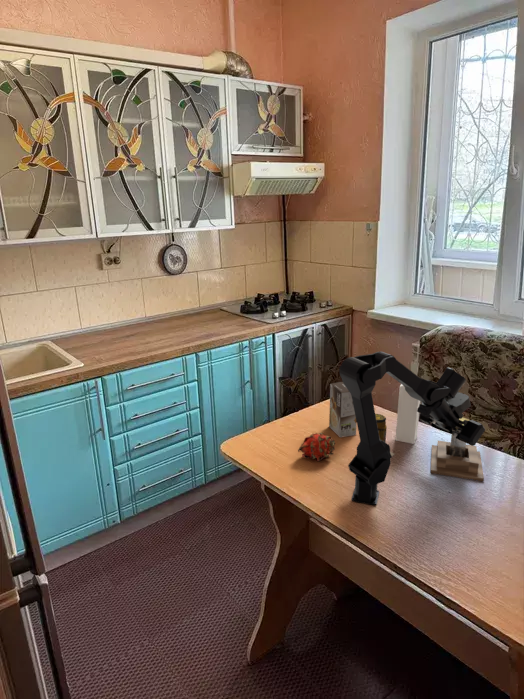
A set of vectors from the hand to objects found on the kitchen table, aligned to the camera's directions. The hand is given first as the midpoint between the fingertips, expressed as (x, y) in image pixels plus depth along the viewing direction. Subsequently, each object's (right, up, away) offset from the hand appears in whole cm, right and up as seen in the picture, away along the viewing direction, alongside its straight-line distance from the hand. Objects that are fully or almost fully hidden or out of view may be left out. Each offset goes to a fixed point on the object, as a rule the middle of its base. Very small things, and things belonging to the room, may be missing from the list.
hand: (462, 436), depth 144 cm
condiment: (-23, -7, +8) cm, 26 cm away
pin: (-1, -7, +1) cm, 7 cm away
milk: (-11, -4, +18) cm, 21 cm away
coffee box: (-31, -2, +23) cm, 39 cm away
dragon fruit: (-42, -8, +6) cm, 43 cm away
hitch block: (-1, -8, +2) cm, 9 cm away
